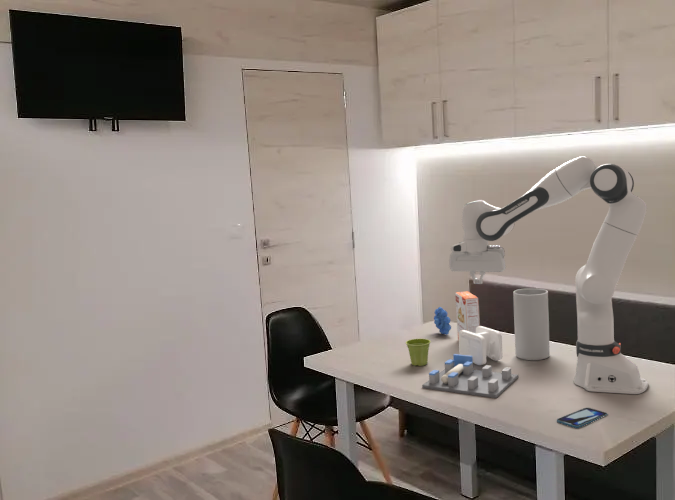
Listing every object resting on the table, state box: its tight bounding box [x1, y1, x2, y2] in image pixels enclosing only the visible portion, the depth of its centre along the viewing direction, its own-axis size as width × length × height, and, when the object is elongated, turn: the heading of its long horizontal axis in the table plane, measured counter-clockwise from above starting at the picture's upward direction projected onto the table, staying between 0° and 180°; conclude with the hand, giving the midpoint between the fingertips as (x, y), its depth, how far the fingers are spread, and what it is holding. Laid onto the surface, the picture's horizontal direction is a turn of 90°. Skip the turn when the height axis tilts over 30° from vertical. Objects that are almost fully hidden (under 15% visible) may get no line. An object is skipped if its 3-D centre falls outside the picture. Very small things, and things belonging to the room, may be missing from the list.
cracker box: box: [454, 291, 481, 341], centre depth 275 cm, size 14×6×21 cm, turn 6°
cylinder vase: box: [512, 287, 550, 361], centre depth 253 cm, size 12×12×25 cm
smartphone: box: [556, 407, 608, 429], centre depth 192 cm, size 7×1×15 cm
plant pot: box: [405, 338, 432, 367], centre depth 254 cm, size 9×9×9 cm
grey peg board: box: [421, 353, 519, 399], centre depth 229 cm, size 26×22×6 cm
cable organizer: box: [457, 325, 503, 366], centre depth 252 cm, size 15×11×12 cm
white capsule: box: [441, 364, 463, 384], centre depth 232 cm, size 16×3×3 cm, turn 147°
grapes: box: [433, 306, 452, 336], centre depth 293 cm, size 12×7×12 cm, turn 24°
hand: (478, 283), depth 241 cm, fingers closed
